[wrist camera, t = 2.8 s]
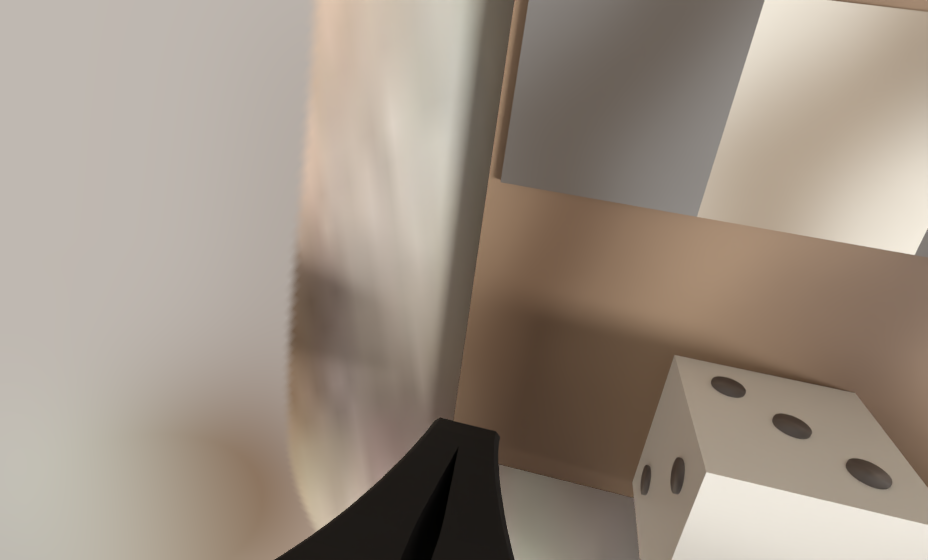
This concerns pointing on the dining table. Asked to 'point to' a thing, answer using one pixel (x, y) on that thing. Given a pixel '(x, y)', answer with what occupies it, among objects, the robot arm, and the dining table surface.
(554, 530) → the dining table surface
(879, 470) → the die
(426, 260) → the dining table surface
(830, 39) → the board
